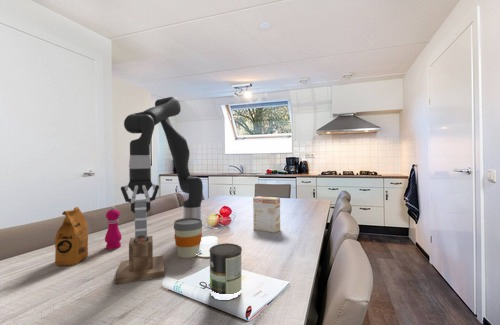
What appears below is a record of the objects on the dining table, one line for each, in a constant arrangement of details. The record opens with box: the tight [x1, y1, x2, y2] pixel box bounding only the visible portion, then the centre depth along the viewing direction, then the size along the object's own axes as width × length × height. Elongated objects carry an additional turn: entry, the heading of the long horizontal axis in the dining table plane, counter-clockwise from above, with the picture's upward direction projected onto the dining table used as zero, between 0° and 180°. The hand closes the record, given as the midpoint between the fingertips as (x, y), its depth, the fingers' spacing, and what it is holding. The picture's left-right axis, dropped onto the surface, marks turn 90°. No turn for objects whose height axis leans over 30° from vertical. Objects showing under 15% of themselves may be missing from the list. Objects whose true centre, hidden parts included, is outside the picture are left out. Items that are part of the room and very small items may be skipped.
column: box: [134, 198, 148, 242], centre depth 98 cm, size 4×4×18 cm
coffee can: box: [209, 242, 243, 294], centre depth 82 cm, size 10×10×14 cm
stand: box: [114, 235, 165, 285], centre depth 98 cm, size 16×16×14 cm
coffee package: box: [54, 206, 89, 267], centre depth 109 cm, size 10×12×22 cm
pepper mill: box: [104, 205, 123, 250], centre depth 125 cm, size 7×7×20 cm
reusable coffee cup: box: [173, 218, 203, 259], centre depth 115 cm, size 12×13×15 cm
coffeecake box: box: [252, 195, 281, 234], centre depth 154 cm, size 15×7×20 cm, turn 58°
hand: (140, 211), depth 98 cm, fingers closed on column, 4 cm apart
